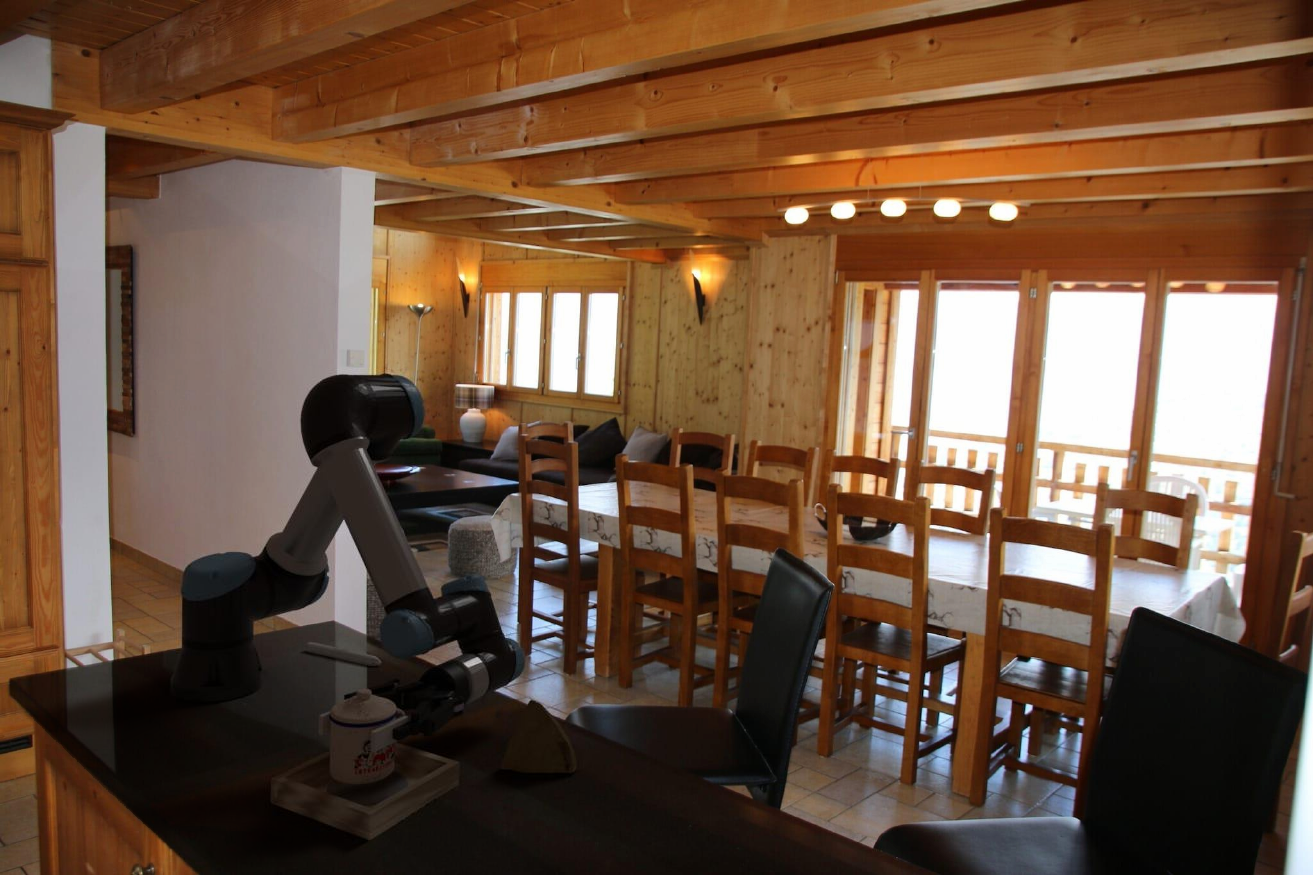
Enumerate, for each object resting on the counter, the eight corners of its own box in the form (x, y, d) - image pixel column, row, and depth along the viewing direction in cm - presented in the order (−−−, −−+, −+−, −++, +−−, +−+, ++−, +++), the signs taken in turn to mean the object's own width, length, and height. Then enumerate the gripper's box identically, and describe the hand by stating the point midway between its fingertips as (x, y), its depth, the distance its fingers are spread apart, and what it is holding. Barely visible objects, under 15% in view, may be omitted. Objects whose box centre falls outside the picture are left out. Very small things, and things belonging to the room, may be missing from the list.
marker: (384, 666, 184) (385, 655, 184) (377, 669, 182) (378, 658, 182) (312, 650, 191) (312, 639, 190) (305, 653, 189) (305, 642, 188)
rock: (595, 751, 146) (549, 724, 151) (580, 720, 140) (533, 693, 146) (551, 809, 140) (505, 778, 146) (533, 779, 135) (486, 749, 140)
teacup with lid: (357, 792, 125) (359, 708, 124) (313, 773, 130) (315, 691, 129) (424, 761, 135) (427, 683, 134) (381, 744, 140) (383, 668, 139)
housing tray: (270, 802, 129) (271, 778, 128) (365, 754, 145) (366, 733, 144) (369, 840, 121) (370, 814, 120) (458, 785, 137) (459, 762, 137)
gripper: (508, 722, 143) (406, 779, 123) (399, 692, 153) (289, 741, 133) (510, 675, 143) (408, 725, 123) (401, 648, 152) (290, 690, 132)
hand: (346, 733), depth 128 cm, fingers closed on teacup with lid, 9 cm apart
